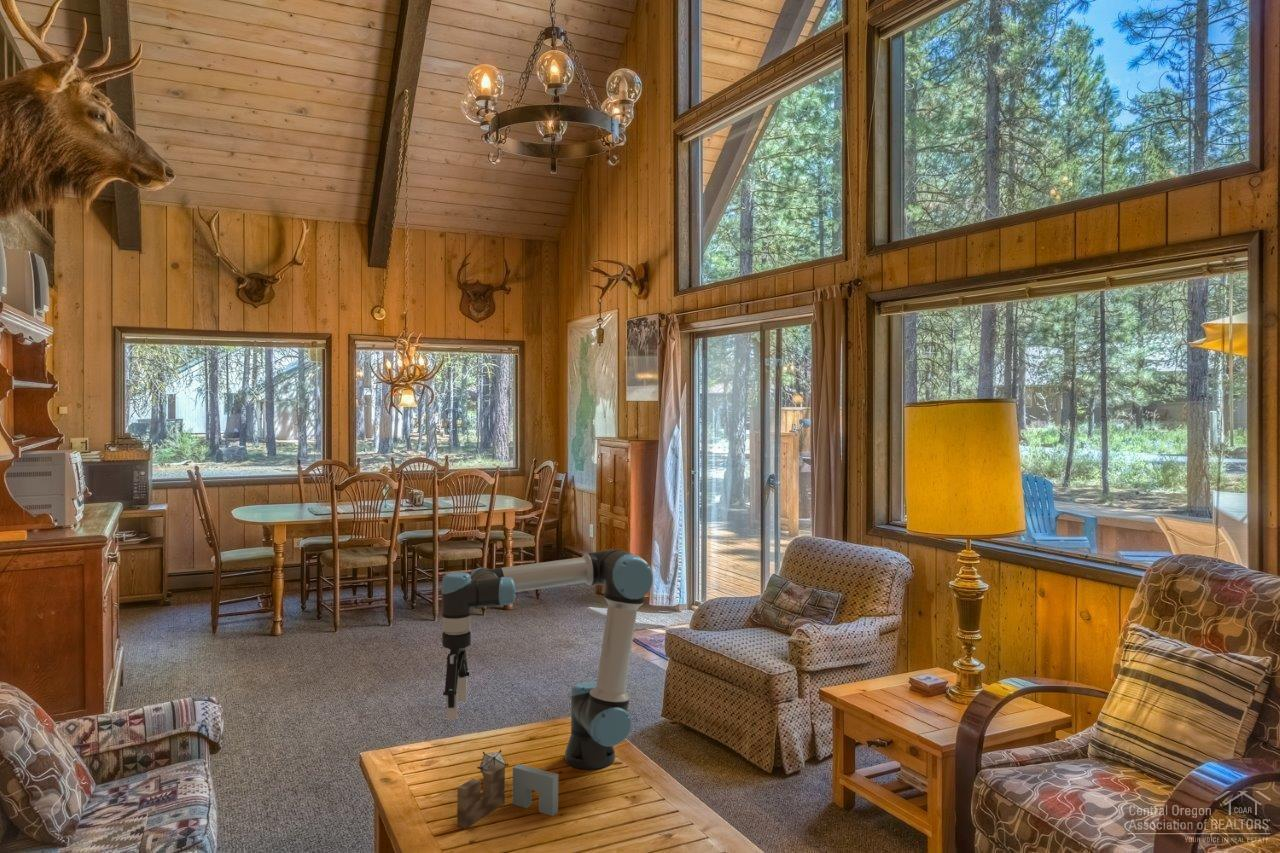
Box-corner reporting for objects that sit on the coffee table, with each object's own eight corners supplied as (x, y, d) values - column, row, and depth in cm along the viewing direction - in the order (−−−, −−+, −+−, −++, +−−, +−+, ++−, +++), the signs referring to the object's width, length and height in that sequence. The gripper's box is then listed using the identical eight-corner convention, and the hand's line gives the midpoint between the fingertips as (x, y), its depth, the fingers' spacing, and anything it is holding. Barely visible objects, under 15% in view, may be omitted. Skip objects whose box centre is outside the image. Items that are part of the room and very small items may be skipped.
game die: (496, 795, 239) (500, 776, 233) (470, 782, 241) (473, 762, 235) (511, 769, 246) (515, 750, 240) (485, 756, 248) (489, 737, 242)
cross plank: (518, 800, 228) (518, 763, 228) (558, 812, 222) (558, 774, 222) (512, 804, 226) (512, 767, 226) (552, 815, 220) (552, 777, 219)
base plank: (497, 801, 228) (497, 764, 227) (504, 803, 226) (504, 766, 226) (457, 826, 214) (457, 787, 213) (464, 828, 212) (465, 789, 212)
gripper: (451, 619, 239) (451, 693, 239) (432, 644, 214) (432, 727, 214) (478, 619, 239) (478, 693, 239) (462, 644, 214) (462, 726, 215)
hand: (456, 709), depth 227 cm, fingers open, 13 cm apart
